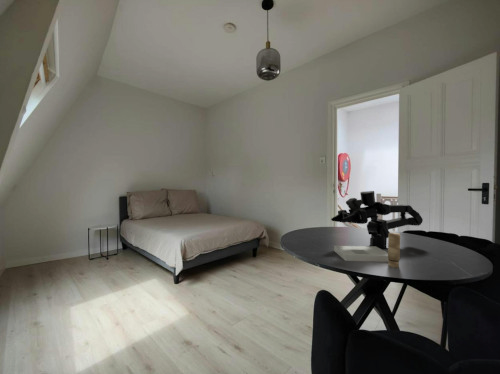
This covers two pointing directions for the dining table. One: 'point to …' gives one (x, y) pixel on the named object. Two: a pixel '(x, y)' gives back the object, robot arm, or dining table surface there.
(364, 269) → the dining table surface
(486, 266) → the dining table surface
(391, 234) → the oak peg
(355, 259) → the grey socket board
